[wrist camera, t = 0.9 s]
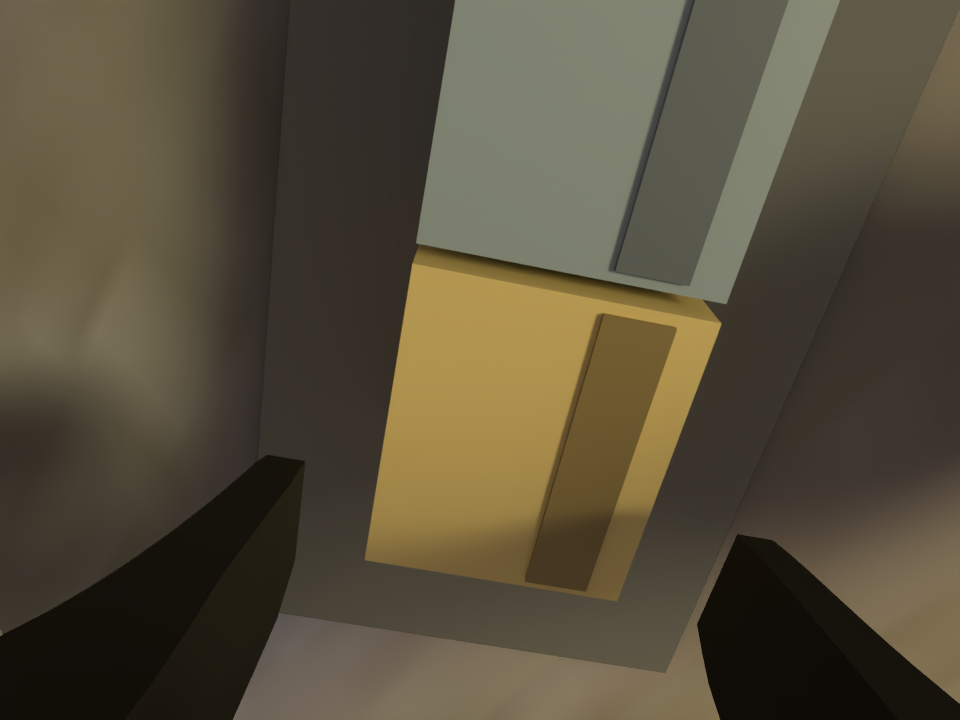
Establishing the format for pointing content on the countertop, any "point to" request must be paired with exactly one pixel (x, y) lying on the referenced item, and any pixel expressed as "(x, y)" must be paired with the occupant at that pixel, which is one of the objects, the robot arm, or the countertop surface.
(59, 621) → the robot arm
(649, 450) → the stub
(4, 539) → the countertop surface
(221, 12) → the countertop surface
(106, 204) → the countertop surface
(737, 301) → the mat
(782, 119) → the block
